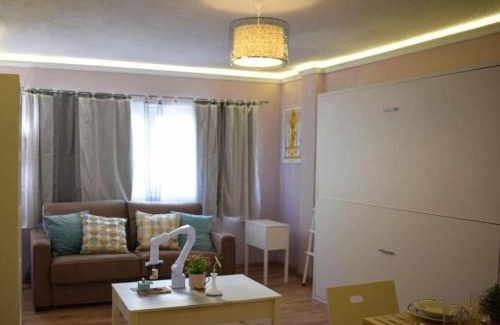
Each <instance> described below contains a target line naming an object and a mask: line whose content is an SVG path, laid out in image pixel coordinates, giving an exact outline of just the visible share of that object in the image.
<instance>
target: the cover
mask: <svg viewBox="0 0 500 325" xmlns="http://www.w3.org/2000/svg"><path fill="white" fill-rule="evenodd" d="M151 285H154V282H153V281H151V279H150V280H146V278H144V277H142V278H141V280H139V281H137V287H138V290H145V289H150V288H151Z"/></svg>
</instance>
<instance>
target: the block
mask: <svg viewBox="0 0 500 325" xmlns="http://www.w3.org/2000/svg"><path fill="white" fill-rule="evenodd" d="M158 278H159V274H158V269H156V268H153V269H152V276H149V279H150V280H157V279H158Z"/></svg>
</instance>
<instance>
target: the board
mask: <svg viewBox="0 0 500 325" xmlns="http://www.w3.org/2000/svg"><path fill="white" fill-rule="evenodd" d="M136 292H137V293H138V295H140V296H141V297H145V296H152V295H153V296H155V295H162V294H165V295H166V294H171V293H172V290H171V289H169V288H168V287H167V286H158V287H150V289H145V290H138V289H137V291H136Z"/></svg>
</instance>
